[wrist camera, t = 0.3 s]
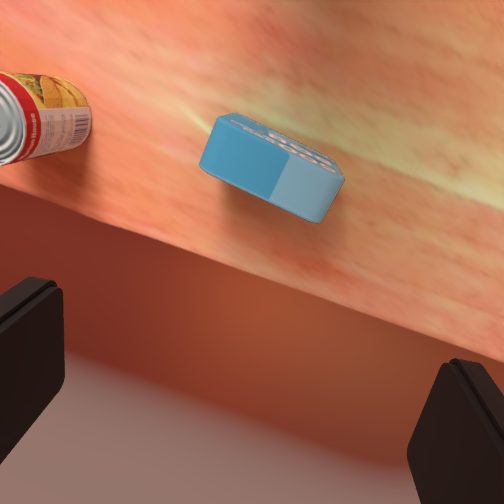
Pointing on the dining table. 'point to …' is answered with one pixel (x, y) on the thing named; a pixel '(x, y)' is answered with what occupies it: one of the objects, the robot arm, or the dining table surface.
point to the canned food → (40, 116)
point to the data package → (271, 167)
